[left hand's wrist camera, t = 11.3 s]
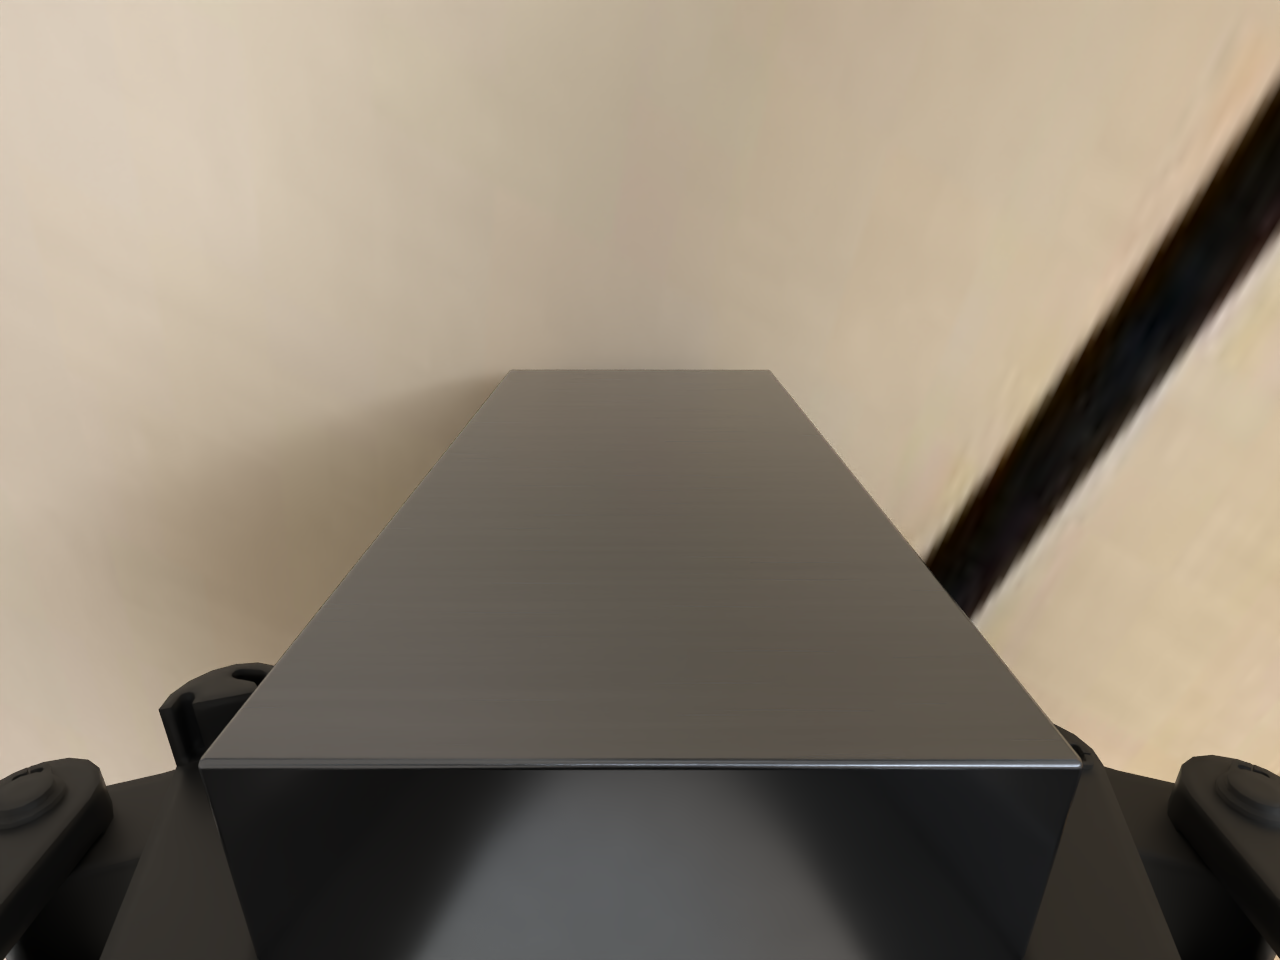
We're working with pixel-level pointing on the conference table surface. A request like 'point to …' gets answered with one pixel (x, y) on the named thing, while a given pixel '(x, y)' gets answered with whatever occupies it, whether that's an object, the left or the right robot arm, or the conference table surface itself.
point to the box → (640, 710)
